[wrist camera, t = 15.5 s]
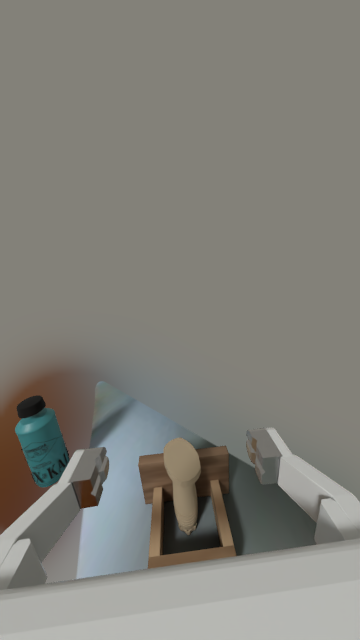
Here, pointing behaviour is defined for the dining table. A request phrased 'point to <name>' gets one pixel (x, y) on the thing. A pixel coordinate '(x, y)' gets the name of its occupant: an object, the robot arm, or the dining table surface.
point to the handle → (183, 481)
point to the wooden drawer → (208, 484)
